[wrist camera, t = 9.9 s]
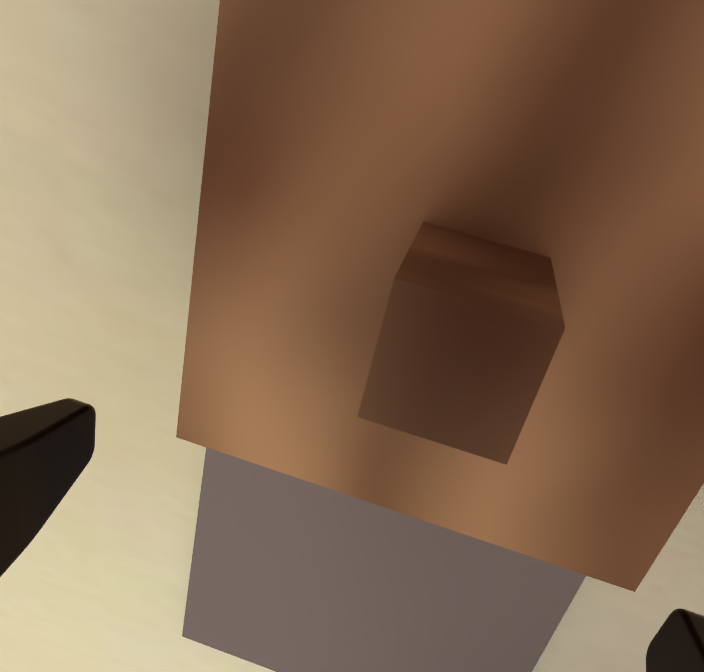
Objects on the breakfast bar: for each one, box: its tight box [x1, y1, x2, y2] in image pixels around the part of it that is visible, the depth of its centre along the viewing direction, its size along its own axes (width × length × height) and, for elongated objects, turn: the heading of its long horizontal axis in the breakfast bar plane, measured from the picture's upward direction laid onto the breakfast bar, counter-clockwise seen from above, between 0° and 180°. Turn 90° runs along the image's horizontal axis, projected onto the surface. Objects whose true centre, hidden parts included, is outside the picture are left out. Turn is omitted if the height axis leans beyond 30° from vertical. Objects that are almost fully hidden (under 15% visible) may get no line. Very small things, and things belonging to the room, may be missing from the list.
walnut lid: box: [176, 0, 704, 592], centre depth 13 cm, size 14×14×5 cm
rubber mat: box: [182, 447, 586, 672], centre depth 27 cm, size 16×16×1 cm
